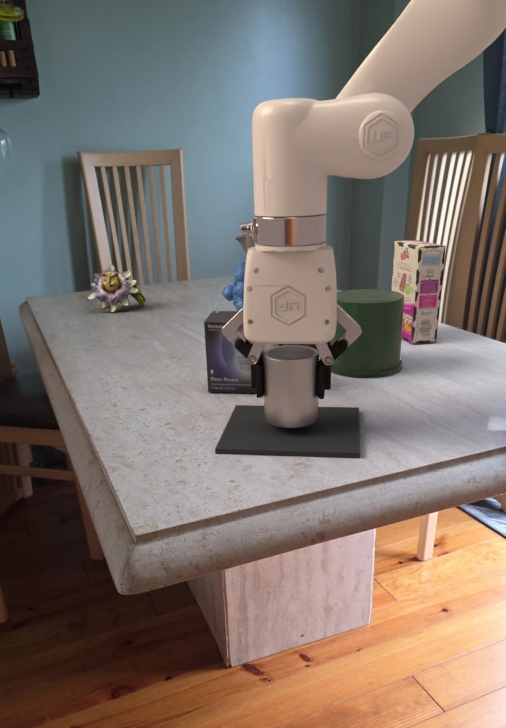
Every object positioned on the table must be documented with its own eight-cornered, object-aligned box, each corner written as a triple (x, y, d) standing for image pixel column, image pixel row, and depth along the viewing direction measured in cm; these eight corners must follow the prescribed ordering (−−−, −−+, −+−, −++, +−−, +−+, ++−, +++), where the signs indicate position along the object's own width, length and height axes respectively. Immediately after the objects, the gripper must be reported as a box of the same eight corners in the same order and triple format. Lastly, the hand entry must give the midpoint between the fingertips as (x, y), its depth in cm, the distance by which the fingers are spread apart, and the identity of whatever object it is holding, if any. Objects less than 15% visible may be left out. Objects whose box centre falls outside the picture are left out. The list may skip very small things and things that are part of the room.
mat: (358, 411, 80) (358, 407, 80) (359, 457, 67) (360, 452, 67) (236, 409, 82) (235, 404, 82) (215, 453, 70) (214, 448, 69)
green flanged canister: (399, 356, 102) (404, 287, 98) (404, 378, 92) (410, 302, 87) (327, 355, 104) (328, 288, 99) (324, 377, 93) (325, 303, 89)
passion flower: (117, 335, 144) (80, 297, 137) (113, 317, 153) (78, 280, 145) (155, 305, 142) (120, 265, 135) (148, 289, 151) (115, 250, 144)
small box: (206, 394, 88) (201, 320, 84) (215, 379, 94) (210, 310, 90) (280, 395, 87) (279, 320, 82) (284, 380, 92) (284, 310, 88)
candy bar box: (438, 342, 109) (447, 245, 102) (411, 345, 108) (419, 246, 101) (412, 328, 119) (419, 238, 112) (387, 330, 118) (392, 240, 111)
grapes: (223, 316, 134) (220, 258, 130) (254, 314, 134) (253, 257, 130) (222, 328, 124) (218, 266, 119) (255, 327, 124) (253, 265, 119)
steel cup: (319, 409, 76) (320, 345, 73) (316, 428, 71) (317, 360, 67) (267, 407, 77) (266, 344, 74) (261, 427, 72) (259, 359, 68)
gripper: (202, 238, 63) (212, 404, 71) (375, 235, 61) (366, 407, 68) (216, 231, 70) (224, 383, 77) (372, 228, 68) (365, 385, 75)
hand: (291, 393), depth 73 cm, fingers closed on steel cup, 6 cm apart
